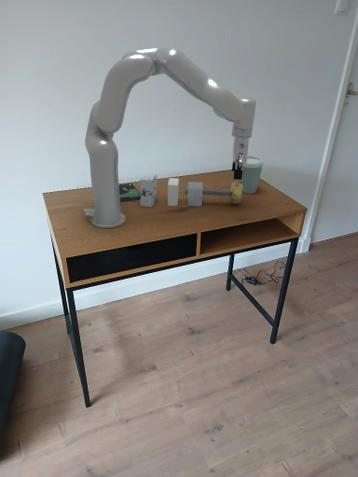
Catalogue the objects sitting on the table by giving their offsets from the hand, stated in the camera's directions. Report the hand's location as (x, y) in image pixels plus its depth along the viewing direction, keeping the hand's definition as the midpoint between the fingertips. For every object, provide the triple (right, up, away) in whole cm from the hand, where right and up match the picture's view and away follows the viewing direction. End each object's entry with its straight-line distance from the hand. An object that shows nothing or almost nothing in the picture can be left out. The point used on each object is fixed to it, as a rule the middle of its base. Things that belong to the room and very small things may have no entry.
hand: (236, 175), depth 147 cm
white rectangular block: (-26, -10, +7) cm, 28 cm away
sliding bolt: (-9, -10, +5) cm, 14 cm away
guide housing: (-17, -11, +6) cm, 21 cm away
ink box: (-36, -11, +5) cm, 38 cm away
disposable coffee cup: (+8, -4, +19) cm, 21 cm away
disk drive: (-47, -7, +13) cm, 49 cm away
